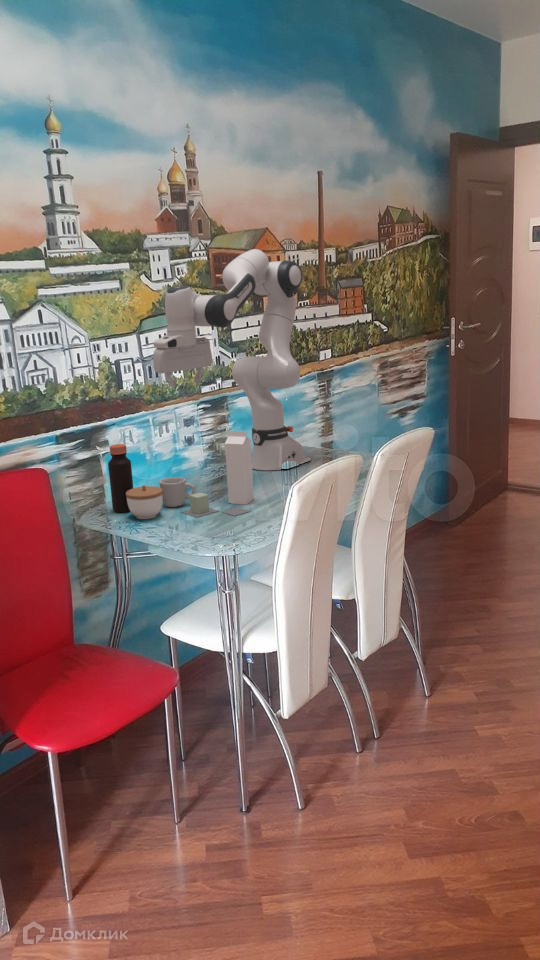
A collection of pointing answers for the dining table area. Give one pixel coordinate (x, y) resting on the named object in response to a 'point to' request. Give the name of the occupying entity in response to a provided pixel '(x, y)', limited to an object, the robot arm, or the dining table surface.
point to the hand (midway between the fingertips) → (185, 384)
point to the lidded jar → (145, 501)
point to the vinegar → (120, 477)
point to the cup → (175, 491)
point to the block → (199, 503)
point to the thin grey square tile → (201, 513)
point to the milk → (239, 468)
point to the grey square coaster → (236, 511)
